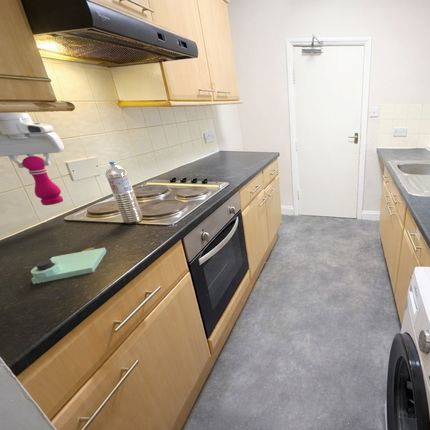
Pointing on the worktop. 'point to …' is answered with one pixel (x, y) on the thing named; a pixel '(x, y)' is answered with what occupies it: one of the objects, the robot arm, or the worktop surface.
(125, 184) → the water bottle
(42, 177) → the pepper mill
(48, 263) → the tare button
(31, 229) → the worktop surface
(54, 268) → the scale
